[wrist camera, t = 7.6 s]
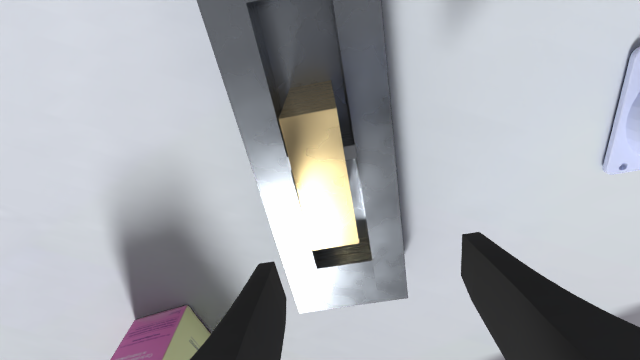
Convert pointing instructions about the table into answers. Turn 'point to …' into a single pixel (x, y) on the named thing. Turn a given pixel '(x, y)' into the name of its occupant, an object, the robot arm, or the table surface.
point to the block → (355, 126)
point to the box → (163, 336)
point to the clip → (319, 164)
